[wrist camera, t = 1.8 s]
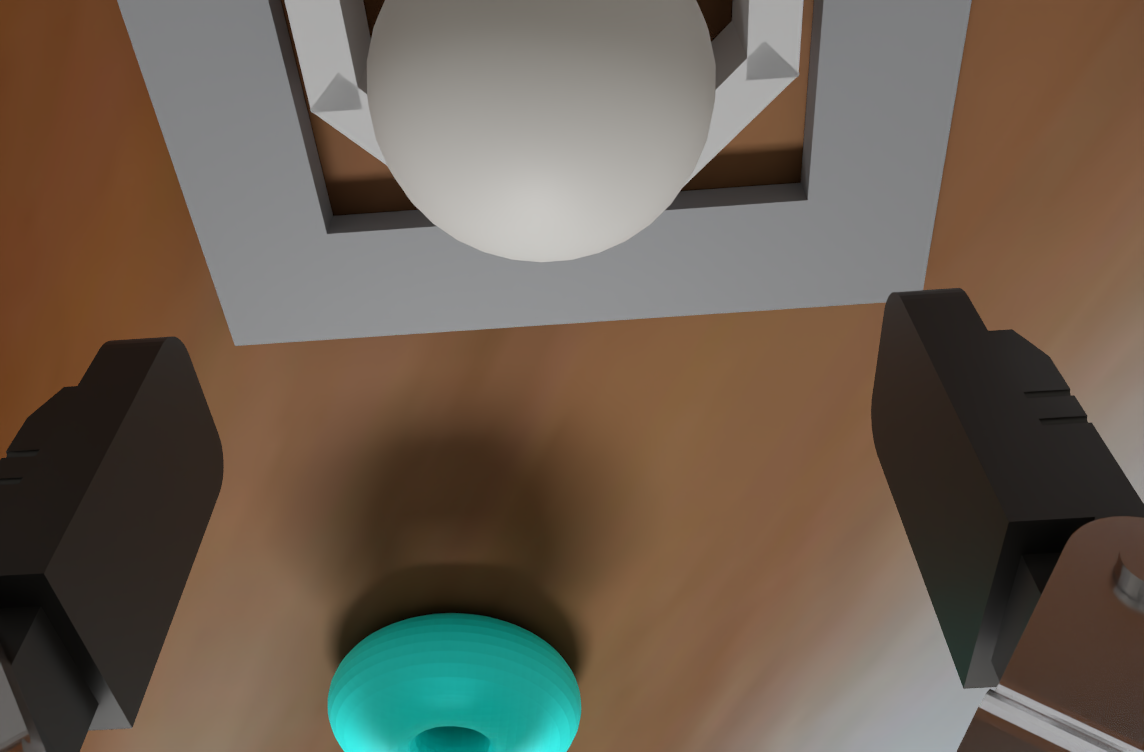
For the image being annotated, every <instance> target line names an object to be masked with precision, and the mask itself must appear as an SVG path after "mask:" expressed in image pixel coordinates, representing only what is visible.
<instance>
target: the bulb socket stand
mask: <svg viewBox="0 0 1144 752" xmlns="http://www.w3.org/2000/svg"><path fill="white" fill-rule="evenodd" d="M117 1H118V4H119V7H120V10H121V13H122V16H123V19H124V22H125V25H126V28H127V31H128V34H129V37H130V39H131V42H132V45H133V48H134V51H135V54H136V57H137V60H138V63H139V66H140V69H141V72H142V75H143V78H144V80H145V83H146V86H147V89H148V92H149V95H150V98H151V101H152V104H153V107H154V110H155V113H156V116H157V119H158V121H159V124H160V127H161V130H162V133H163V136H164V139H165V142H166V145H167V148H168V151H169V154H170V157H171V160H172V162H173V165H174V168H175V171H176V174H177V177H178V180H179V183H180V186H181V189H182V192H183V195H184V198H185V201H186V203H187V206H188V209H189V212H190V215H191V218H192V221H193V224H194V227H195V230H196V233H197V236H198V239H199V242H200V244H201V247H202V250H203V253H204V256H205V259H206V262H207V265H208V268H209V271H210V274H211V277H212V280H213V283H214V285H215V288H216V291H217V294H218V297H219V300H220V303H221V306H222V309H223V312H224V315H225V318H226V321H227V324H228V326H229V329H230V332H231V335H232V338H233V341H234V344H235V346H239V345H254V344H269V343H284V342H299V341H314V340H329V339H344V338H359V337H374V336H389V335H404V334H419V333H434V332H448V331H463V330H478V329H493V328H508V327H523V326H538V325H553V324H568V323H583V322H598V321H613V320H628V319H643V318H658V317H673V316H688V315H702V314H717V313H732V312H747V311H762V310H777V309H792V308H807V307H822V306H837V305H852V304H867V303H882V302H887V299H888V297H889V295H890V294H891V293H892V292H905V291H921V290H923V286H924V280H925V274H926V269H927V263H928V257H929V251H930V245H931V239H932V233H933V227H934V221H935V215H936V209H937V203H938V197H939V191H940V185H941V179H942V173H943V167H944V162H945V156H946V150H947V144H948V138H949V132H950V126H951V120H952V114H953V108H954V102H955V96H956V90H957V84H958V78H959V72H960V66H961V60H962V54H963V49H964V43H965V37H966V31H967V25H968V19H969V13H970V7H971V1H972V0H814V8H813V22H812V35H811V48H810V62H809V75H808V89H807V102H806V116H805V129H804V143H803V156H802V170H801V183H790V184H775V185H761V186H747V187H733V188H719V189H705V190H691V191H680V192H679V193H678V195H677V196H676V198H675V199H674V201H673V202H672V203H671V205H670V206H669V207H668V208H667V209H666V210H664V211H663V212H662V213H661V214H660V215H659V216H658V217H657V218H656V219H655V220H654V221H653V222H652V223H651V224H650V225H649V226H647V227H646V228H644V229H643V230H641V231H640V232H639V233H637V234H636V235H634V236H633V237H631V238H630V239H628V240H627V241H625V242H623V243H620V244H618V245H616V246H614V247H611V248H609V249H607V250H605V251H602V252H600V253H597V254H593V255H589V256H585V257H581V258H577V259H573V260H565V261H552V262H533V261H521V260H512V259H508V258H504V257H500V256H497V255H493V254H489V253H485V252H482V251H480V250H478V249H476V248H474V247H471V246H469V245H467V244H465V243H463V242H460V241H458V240H456V239H455V238H454V237H452V236H451V235H449V234H448V233H446V232H445V231H443V230H442V229H440V228H439V227H437V226H436V225H435V224H433V223H432V222H431V221H430V220H429V219H428V218H427V217H426V216H425V215H424V214H423V213H422V212H421V211H420V210H408V211H394V212H380V213H366V214H352V215H338V216H333V213H332V209H331V205H330V201H329V197H328V193H327V189H326V184H325V180H324V176H323V172H322V168H321V164H320V160H319V156H318V152H317V148H316V144H315V139H314V135H313V131H312V127H311V123H310V119H309V115H308V111H307V107H306V103H305V98H304V94H303V90H302V86H301V82H300V78H299V74H298V70H297V66H296V62H295V57H294V53H293V49H292V45H291V41H290V37H289V33H288V29H287V25H286V21H285V16H284V12H283V8H282V4H281V0H117ZM284 1H285V5H286V9H287V13H288V17H289V21H290V26H291V30H292V34H293V38H294V42H295V46H296V50H297V54H298V59H299V63H300V67H301V71H302V75H303V79H304V83H305V88H306V92H307V96H308V100H309V104H310V108H311V109H310V111H311V112H312V113H314V114H316V115H317V116H319V117H320V118H321V119H323V120H324V121H326V122H327V123H328V124H330V125H331V126H333V127H334V128H335V129H337V130H338V131H340V132H341V133H342V134H344V135H345V136H347V137H348V138H349V139H351V140H352V141H354V142H355V143H356V144H358V145H359V146H361V147H362V148H363V149H365V150H366V151H368V152H369V153H370V154H372V155H373V156H375V157H376V158H377V159H379V160H380V161H382V162H383V163H384V164H386V165H387V163H386V161H385V159H384V156H383V154H382V152H381V149H380V147H379V145H378V143H377V140H376V138H375V133H374V128H373V124H372V119H371V115H370V110H369V104H368V97H367V58H368V53H369V48H370V43H371V38H370V33H369V28H368V22H367V17H366V12H365V7H364V2H363V0H284ZM802 13H803V0H733V2H732V21H731V22H730V23H729V24H728V25H727V26H726V27H725V28H724V29H723V30H722V31H721V32H720V33H719V34H718V36H717V37H716V38H715V39H714V40H713V41H712V42H711V44H712V49H713V54H714V59H715V64H716V78H715V102H714V108H713V113H712V118H711V123H710V128H709V132H708V137H707V141H706V144H705V146H704V148H703V151H702V153H701V155H700V158H699V160H698V162H697V165H696V167H695V169H694V171H693V172H692V174H691V176H690V177H689V179H688V180H687V182H686V183H685V185H686V184H687V183H688V182H689V181H690V180H691V179H692V178H693V177H694V176H695V175H696V174H697V173H698V172H699V171H700V170H701V169H702V168H703V167H704V166H705V165H706V164H707V163H708V162H709V161H710V160H711V159H712V158H714V157H715V156H716V155H717V154H718V153H719V152H720V151H721V150H722V149H723V148H724V147H725V146H726V145H727V144H728V143H729V142H730V141H731V140H732V139H733V138H734V137H735V136H736V135H737V134H738V133H739V132H740V131H741V130H742V129H743V128H744V127H745V126H746V125H748V124H749V123H750V122H751V121H752V120H753V119H754V118H755V117H756V116H757V115H758V114H759V113H760V112H761V111H762V110H763V109H764V108H765V107H766V106H767V105H768V104H769V103H770V102H771V101H772V100H773V99H774V98H775V97H776V96H777V95H778V94H779V93H780V92H782V91H783V90H784V89H785V88H786V87H787V86H788V85H789V84H790V83H791V82H792V81H793V80H794V79H795V78H796V77H798V75H799V58H800V43H801V28H802ZM387 166H388V165H387ZM685 185H684V186H685ZM684 186H683V187H684ZM683 187H682V188H683Z"/></svg>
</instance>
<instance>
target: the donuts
mask: <svg viewBox="0 0 1144 752" xmlns="http://www.w3.org/2000/svg"><path fill="white" fill-rule="evenodd" d="M328 716H329V721H330V724H331V727H332V730H333V733H334V736H335V738H336V740H337V741H338V743H339V744H340V746H341V747H342V749H343V750H344V752H566V751H567V750H568V748H569V747H570V745H571V743H572V741H573V739H574V737H575V735H576V733H577V730H578V726H579V722H580V717H581V697H580V691H579V688H578V685H577V682H576V679H575V676H574V674H573V672H572V670H571V669H570V667H569V666H568V664H567V663H566V662H565V660H564V659H563V657H562V656H561V655H560V654H559V653H558V652H557V651H556V650H555V649H554V648H553V647H552V646H551V645H549V644H548V643H547V642H546V641H544V640H543V639H541V638H540V637H538V636H536V635H535V634H533V633H532V632H530V631H528V630H526V629H523V628H521V627H519V626H517V625H515V624H512V623H509V622H506V621H503V620H499V619H495V618H491V617H487V616H482V615H475V614H464V613H440V614H430V615H424V616H417V617H413V618H408V619H405V620H402V621H399V622H396V623H393V624H390V625H388V626H386V627H384V628H382V629H380V630H378V631H376V632H374V633H372V634H370V635H369V636H367V637H366V638H364V639H363V640H362V641H361V642H359V643H358V644H357V645H356V646H355V647H354V648H353V649H352V650H351V651H350V652H349V653H348V654H347V655H346V656H345V658H344V659H343V660H342V662H341V663H340V665H339V667H338V668H337V670H336V672H335V674H334V676H333V679H332V681H331V685H330V690H329V694H328Z"/></svg>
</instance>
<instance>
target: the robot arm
mask: <svg viewBox="0 0 1144 752" xmlns="http://www.w3.org/2000/svg"><path fill="white" fill-rule="evenodd" d="M871 419H872V431H873V438H874V444H875V448H876V452H877V455H878V458H879V460H880V463H881V466H882V469H883V471H884V474H885V477H886V479H887V482H888V485H889V488H890V490H891V493H892V496H893V498H894V501H895V504H896V507H897V509H898V512H899V515H900V517H901V520H902V523H903V525H904V528H905V531H906V534H907V536H908V539H909V542H910V544H911V547H912V550H913V553H914V555H915V558H916V561H917V563H918V566H919V569H920V572H921V574H922V577H923V580H924V582H925V585H926V588H927V591H928V593H929V596H930V599H931V601H932V604H933V607H934V610H935V612H936V615H937V618H938V620H939V623H940V626H941V629H942V631H943V634H944V637H945V639H946V642H947V645H948V648H949V650H950V653H951V656H952V658H953V661H954V664H955V666H956V669H957V672H958V675H959V677H960V680H961V683H962V685H963V688H964V689H965V688H984V687H997V688H996V689H995V691H993V690H991V689H990V690H989V691H988V692H987V693H986V695H985V696H984V698H983V700H982V702H981V703H980V705H979V707H978V709H977V711H976V713H975V715H974V717H973V719H972V721H971V723H970V725H969V727H968V729H967V731H966V733H965V736H964V738H963V740H962V742H961V744H960V746H959V748H958V750H957V752H1144V504H1143V502H1142V501H1141V499H1140V498H1139V496H1138V495H1137V493H1136V491H1135V490H1134V488H1133V487H1132V485H1131V484H1130V482H1129V480H1128V479H1127V477H1126V476H1125V474H1124V473H1123V471H1122V469H1121V468H1120V466H1119V465H1118V463H1117V462H1116V460H1115V459H1114V457H1113V455H1112V454H1111V452H1110V451H1109V449H1108V448H1107V446H1106V444H1105V443H1104V441H1103V440H1102V438H1101V437H1100V435H1099V433H1098V432H1097V430H1096V429H1095V427H1094V426H1093V424H1092V423H1088V422H1087V415H1086V413H1085V412H1084V410H1083V408H1082V407H1081V405H1080V404H1079V402H1078V401H1077V399H1076V397H1075V396H1071V395H1070V388H1069V386H1068V385H1067V383H1066V382H1065V380H1064V379H1063V377H1062V375H1061V374H1060V372H1059V371H1058V369H1057V368H1056V366H1055V365H1054V363H1053V361H1052V360H1051V358H1050V357H1049V356H1048V355H1047V354H1045V353H1044V352H1042V351H1041V350H1040V349H1038V348H1037V347H1036V346H1034V345H1033V344H1031V343H1030V342H1029V341H1027V340H1026V339H1025V338H1023V337H1022V336H1020V335H1019V334H1018V333H1016V332H1015V331H1014V330H997V331H988V330H987V328H986V327H985V325H984V323H983V321H982V320H981V318H980V316H979V314H978V313H977V311H976V309H975V308H974V306H973V304H972V302H971V301H970V299H969V297H968V295H967V294H966V293H965V291H964V290H962V289H960V288H952V289H936V290H921V291H905V292H892V293H891V294H890V295H889V297H888V299H887V302H886V305H885V310H884V317H883V324H882V331H881V338H880V345H879V352H878V359H877V366H876V374H875V381H874V388H873V395H872V406H871ZM6 453H7V457H6V458H2V459H1V460H0V752H80V749H81V747H82V744H83V742H84V739H85V737H86V734H87V732H88V730H106V729H125V728H132V727H133V724H134V722H135V719H136V716H137V713H138V711H139V708H140V705H141V703H142V700H143V697H144V695H145V692H146V689H147V687H148V684H149V681H150V678H151V676H152V673H153V670H154V668H155V665H156V662H157V660H158V657H159V654H160V652H161V649H162V646H163V643H164V641H165V638H166V635H167V633H168V630H169V627H170V625H171V622H172V619H173V616H174V614H175V611H176V608H177V606H178V603H179V600H180V598H181V595H182V592H183V590H184V587H185V584H186V581H187V579H188V576H189V573H190V571H191V568H192V565H193V563H194V560H195V557H196V555H197V552H198V549H199V546H200V544H201V541H202V538H203V536H204V533H205V530H206V528H207V525H208V522H209V520H210V517H211V514H212V511H213V509H214V506H215V503H216V501H217V498H218V495H219V492H220V489H221V485H222V479H223V452H222V445H221V441H220V438H219V434H218V432H217V429H216V426H215V424H214V421H213V418H212V416H211V413H210V410H209V407H208V405H207V402H206V399H205V397H204V394H203V391H202V389H201V386H200V383H199V380H198V378H197V375H196V372H195V370H194V367H193V364H192V362H191V359H190V356H189V354H188V351H187V349H186V347H185V346H184V344H183V343H182V342H181V340H179V339H178V338H176V337H160V338H145V339H129V340H114V341H108V342H106V343H105V344H103V345H102V347H101V348H100V349H99V351H98V353H97V355H96V356H95V358H94V360H93V361H92V363H91V365H90V366H89V368H88V370H87V371H86V373H85V375H84V376H83V378H82V380H81V381H80V383H79V385H78V386H74V387H64V388H63V389H61V390H60V391H59V392H58V393H57V394H55V395H54V396H53V397H52V398H51V399H49V400H48V401H47V402H46V403H45V404H43V405H42V406H41V407H40V408H39V409H37V410H36V411H35V412H34V413H33V414H31V415H30V416H29V417H28V418H27V419H26V421H25V422H24V424H23V426H22V427H21V429H20V430H19V432H18V433H17V435H16V437H15V438H14V440H13V441H12V443H11V444H10V446H9V448H8V449H7V451H6Z"/></svg>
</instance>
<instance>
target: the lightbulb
mask: <svg viewBox="0 0 1144 752" xmlns="http://www.w3.org/2000/svg"><path fill="white" fill-rule="evenodd" d="M715 78H716V64H715V59H714V54H713V49H712V44H711V40H710V35H709V30H708V27H707V25H706V22H705V19H704V17H703V14H702V12H701V10H700V7H699V5H698V3H697V1H696V0H385V1H384V4H383V6H382V8H381V11H380V13H379V15H378V18H377V20H376V23H375V25H374V28H373V33H372V38H371V43H370V48H369V53H368V58H367V97H368V104H369V110H370V115H371V119H372V124H373V128H374V133H375V138H376V140H377V143H378V145H379V147H380V149H381V152H382V154H383V156H384V159H385V161H386V163H387V165H388V168H389V169H390V171H391V173H392V174H393V176H394V178H395V179H396V181H397V182H398V184H399V185H400V186H401V188H402V189H403V191H404V192H405V194H406V195H407V197H408V198H409V199H410V201H411V202H412V203H413V204H414V205H415V206H416V207H417V208H418V209H419V210H420V211H421V212H422V213H423V214H424V215H425V216H426V217H427V218H428V219H429V220H430V221H431V222H432V223H433V224H435V225H436V226H437V227H439V228H440V229H442V230H443V231H445V232H446V233H448V234H449V235H451V236H452V237H454V238H455V239H456V240H458V241H460V242H463V243H465V244H467V245H469V246H471V247H474V248H476V249H478V250H480V251H482V252H485V253H489V254H493V255H497V256H500V257H504V258H508V259H512V260H521V261H533V262H552V261H565V260H573V259H577V258H581V257H585V256H589V255H593V254H597V253H600V252H602V251H605V250H607V249H609V248H611V247H614V246H616V245H618V244H620V243H623V242H625V241H627V240H628V239H630V238H631V237H633V236H634V235H636V234H637V233H639V232H640V231H641V230H643V229H644V228H646V227H647V226H649V225H650V224H651V223H652V222H653V221H654V220H655V219H656V218H657V217H658V216H659V215H660V214H661V213H662V212H663V211H664V210H666V209H667V208H668V207H669V206H670V205H671V203H672V202H673V201H674V199H675V198H676V196H677V195H678V193H679V192H680V190H681V189H682V187H683V186H684V185H685V183H686V182H687V180H688V179H689V177H690V176H691V174H692V172H693V171H694V169H695V167H696V165H697V162H698V160H699V158H700V155H701V153H702V151H703V148H704V146H705V144H706V141H707V137H708V132H709V128H710V123H711V118H712V113H713V108H714V102H715Z"/></svg>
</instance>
